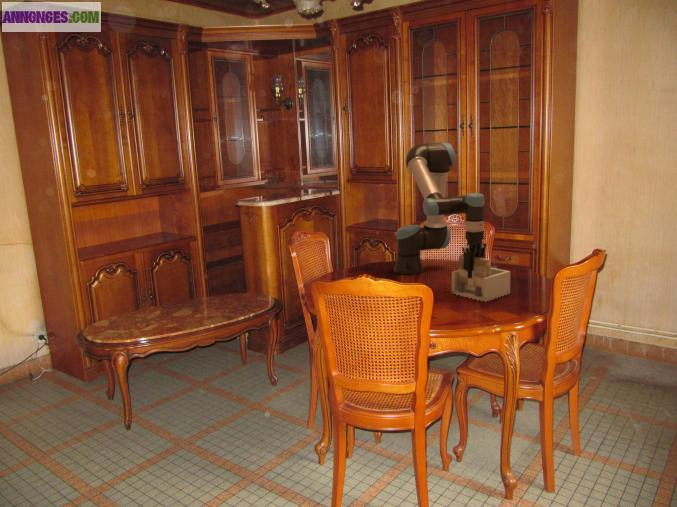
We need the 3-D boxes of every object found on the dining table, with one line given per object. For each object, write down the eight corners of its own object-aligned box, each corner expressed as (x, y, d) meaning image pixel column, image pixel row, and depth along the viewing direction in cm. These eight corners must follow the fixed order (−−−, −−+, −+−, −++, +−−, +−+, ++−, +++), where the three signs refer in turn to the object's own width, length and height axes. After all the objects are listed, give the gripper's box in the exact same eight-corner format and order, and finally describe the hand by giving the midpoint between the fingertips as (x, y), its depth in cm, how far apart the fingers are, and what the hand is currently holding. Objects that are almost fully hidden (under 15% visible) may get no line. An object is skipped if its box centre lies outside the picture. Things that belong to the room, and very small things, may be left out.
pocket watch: (508, 284, 264) (509, 263, 262) (489, 284, 266) (489, 263, 264) (507, 279, 272) (507, 259, 270) (488, 279, 274) (489, 259, 271)
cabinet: (476, 286, 264) (476, 264, 261) (509, 293, 250) (510, 271, 248) (451, 293, 253) (451, 271, 251) (485, 302, 239) (485, 278, 237)
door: (463, 285, 255) (464, 254, 252) (490, 291, 244) (490, 259, 241) (456, 288, 251) (456, 256, 248) (482, 294, 241) (482, 261, 238)
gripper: (469, 234, 235) (468, 289, 240) (494, 228, 245) (493, 282, 250) (454, 232, 240) (454, 286, 245) (479, 226, 251) (479, 279, 256)
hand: (474, 284), depth 248 cm, fingers closed on door, 3 cm apart
